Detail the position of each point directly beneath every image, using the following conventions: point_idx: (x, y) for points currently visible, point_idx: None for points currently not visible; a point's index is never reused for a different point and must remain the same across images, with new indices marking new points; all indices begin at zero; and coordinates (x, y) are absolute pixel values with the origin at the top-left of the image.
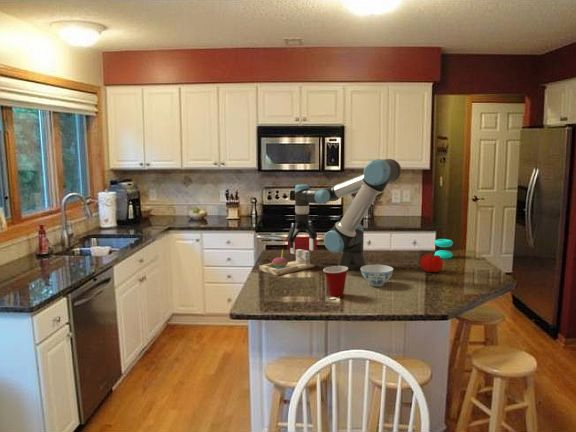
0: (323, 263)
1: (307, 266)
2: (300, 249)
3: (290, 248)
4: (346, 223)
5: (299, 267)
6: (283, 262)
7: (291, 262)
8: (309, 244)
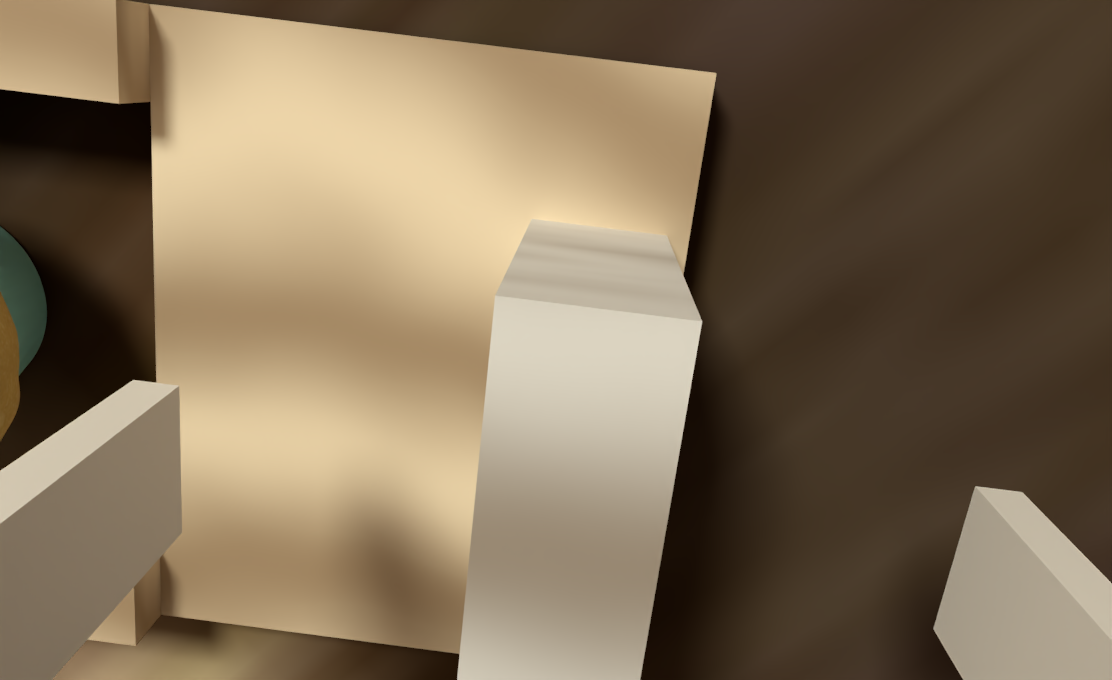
0: None
1: (417, 646)
2: (656, 389)
3: (28, 454)
4: None
5: (237, 589)
6: None
7: (447, 142)
8: (1072, 611)
